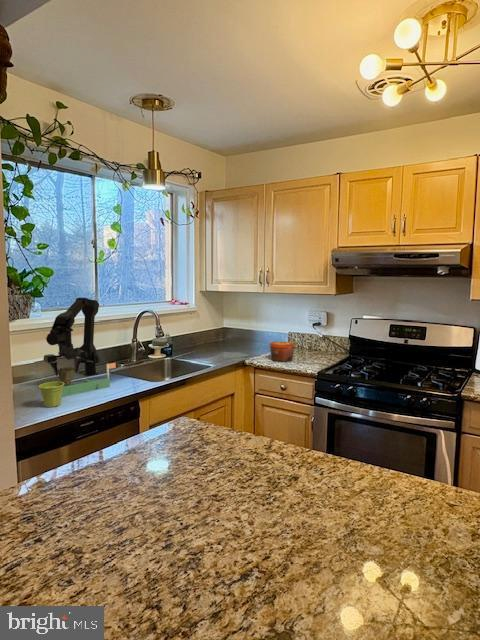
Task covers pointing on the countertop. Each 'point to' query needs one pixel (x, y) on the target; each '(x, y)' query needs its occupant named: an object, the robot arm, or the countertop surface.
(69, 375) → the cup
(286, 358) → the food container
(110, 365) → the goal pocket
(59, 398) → the plant pot
